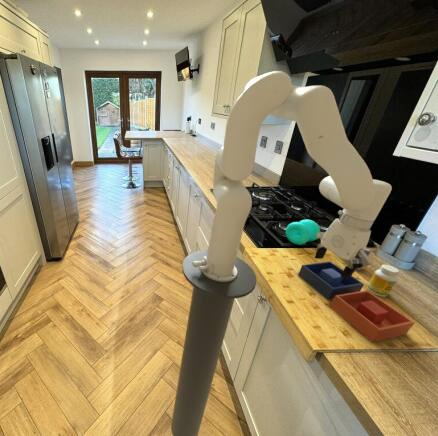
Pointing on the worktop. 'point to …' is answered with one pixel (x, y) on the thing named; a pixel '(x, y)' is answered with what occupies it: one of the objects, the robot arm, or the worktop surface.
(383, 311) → the brick block
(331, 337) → the worktop surface
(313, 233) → the donuts
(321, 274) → the slate block
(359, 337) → the worktop surface
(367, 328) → the terracotta bin
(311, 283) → the navy bin
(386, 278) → the supplement bottle
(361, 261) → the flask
